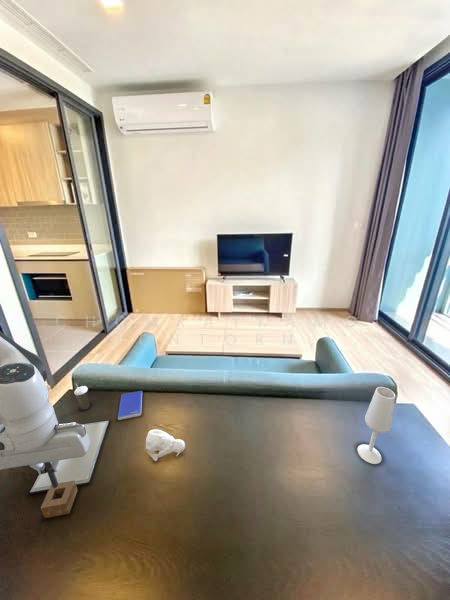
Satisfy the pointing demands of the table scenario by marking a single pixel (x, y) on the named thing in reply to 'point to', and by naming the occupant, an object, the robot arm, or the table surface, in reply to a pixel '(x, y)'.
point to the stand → (59, 499)
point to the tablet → (76, 462)
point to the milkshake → (82, 397)
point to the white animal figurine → (162, 444)
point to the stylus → (51, 475)
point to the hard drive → (130, 405)
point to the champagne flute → (378, 422)
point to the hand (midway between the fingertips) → (50, 470)
